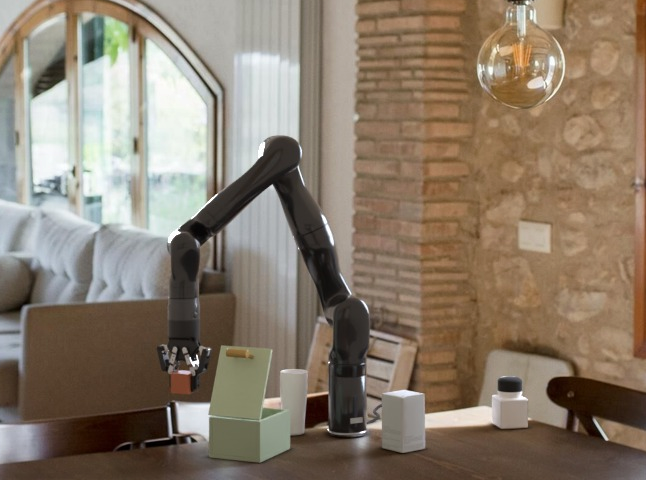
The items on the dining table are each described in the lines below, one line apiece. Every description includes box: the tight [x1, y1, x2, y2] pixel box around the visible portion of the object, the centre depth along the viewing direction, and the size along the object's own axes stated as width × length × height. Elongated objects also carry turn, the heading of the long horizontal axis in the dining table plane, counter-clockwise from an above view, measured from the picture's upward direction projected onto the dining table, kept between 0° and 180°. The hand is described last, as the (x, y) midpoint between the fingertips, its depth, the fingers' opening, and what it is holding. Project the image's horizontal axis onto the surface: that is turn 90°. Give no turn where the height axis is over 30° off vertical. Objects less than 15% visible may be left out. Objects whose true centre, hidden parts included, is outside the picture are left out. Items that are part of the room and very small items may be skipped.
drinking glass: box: [279, 368, 309, 437], centre depth 310 cm, size 7×7×15 cm
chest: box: [208, 406, 291, 464], centre depth 289 cm, size 15×13×9 cm
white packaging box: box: [381, 389, 426, 454], centre depth 294 cm, size 7×7×13 cm
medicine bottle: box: [491, 375, 529, 430], centre depth 319 cm, size 7×7×12 cm
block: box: [170, 369, 198, 395], centre depth 298 cm, size 5×5×5 cm
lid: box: [208, 345, 274, 420], centre depth 284 cm, size 16×13×5 cm
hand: (184, 390), depth 298 cm, fingers closed on block, 4 cm apart
